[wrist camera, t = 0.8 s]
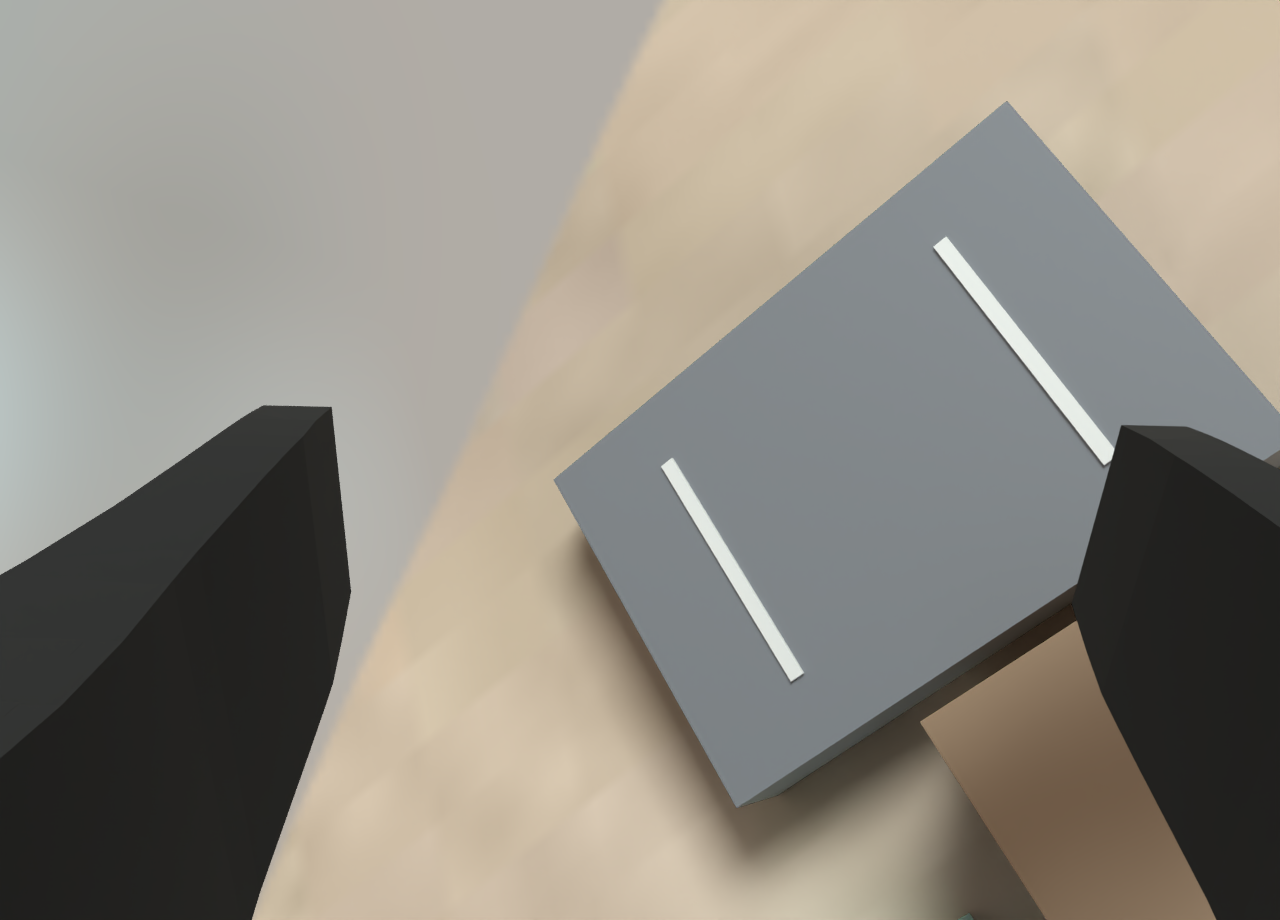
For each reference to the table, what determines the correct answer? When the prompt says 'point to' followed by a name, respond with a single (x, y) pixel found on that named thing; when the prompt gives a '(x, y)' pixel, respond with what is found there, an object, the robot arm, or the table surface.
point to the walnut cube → (1065, 791)
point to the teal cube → (966, 917)
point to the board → (895, 457)
